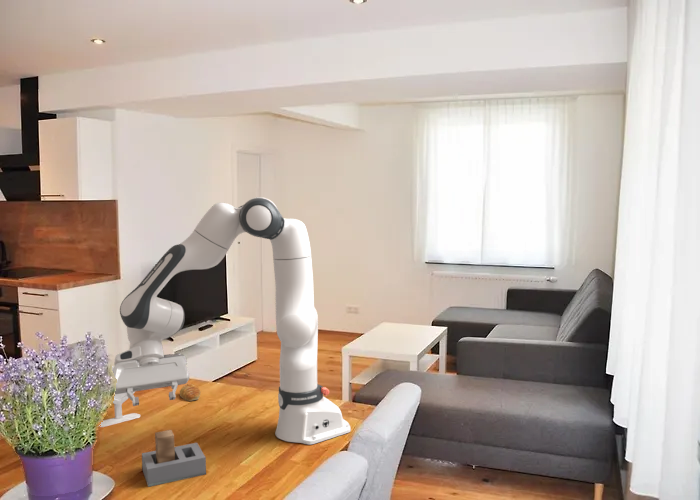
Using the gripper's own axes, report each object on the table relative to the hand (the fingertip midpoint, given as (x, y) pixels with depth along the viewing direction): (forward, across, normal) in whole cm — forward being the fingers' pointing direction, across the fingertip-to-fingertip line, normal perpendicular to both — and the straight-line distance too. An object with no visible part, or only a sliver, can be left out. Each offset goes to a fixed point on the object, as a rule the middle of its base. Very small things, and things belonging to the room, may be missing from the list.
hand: (154, 401), depth 160 cm
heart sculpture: (-13, +6, -35) cm, 38 cm away
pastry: (-20, -19, -43) cm, 51 cm away
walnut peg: (+18, -1, -4) cm, 18 cm away
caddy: (+18, -3, -4) cm, 19 cm away
